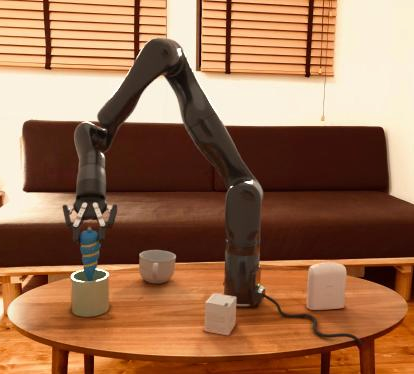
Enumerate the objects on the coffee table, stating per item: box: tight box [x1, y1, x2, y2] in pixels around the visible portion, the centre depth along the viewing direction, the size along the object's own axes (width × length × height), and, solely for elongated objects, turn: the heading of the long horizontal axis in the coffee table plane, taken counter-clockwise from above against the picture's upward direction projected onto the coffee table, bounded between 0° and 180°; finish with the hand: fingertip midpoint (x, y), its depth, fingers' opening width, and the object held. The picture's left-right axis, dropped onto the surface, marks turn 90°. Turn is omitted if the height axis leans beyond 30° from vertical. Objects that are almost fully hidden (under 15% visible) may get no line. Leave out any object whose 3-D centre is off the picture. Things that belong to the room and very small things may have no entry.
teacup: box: [138, 249, 177, 284], centre depth 137 cm, size 14×11×8 cm
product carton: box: [203, 292, 237, 336], centre depth 110 cm, size 6×6×7 cm
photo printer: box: [306, 261, 347, 311], centre depth 123 cm, size 10×4×12 cm, turn 100°
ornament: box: [79, 226, 102, 281], centre depth 116 cm, size 5×5×15 cm
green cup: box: [70, 268, 110, 318], centre depth 118 cm, size 9×9×9 cm
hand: (88, 242), depth 113 cm, fingers closed on ornament, 5 cm apart
